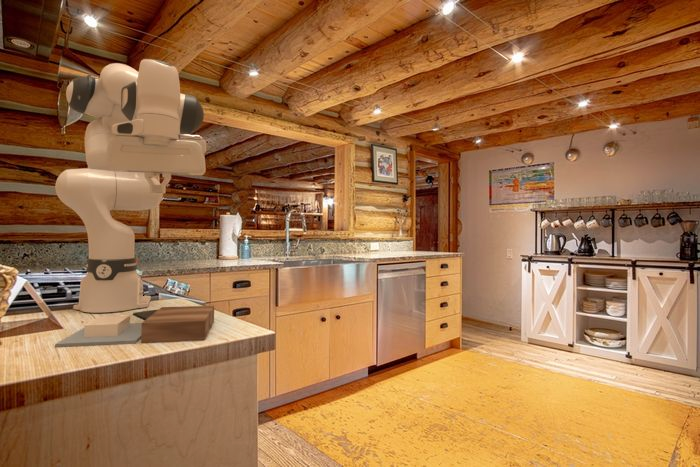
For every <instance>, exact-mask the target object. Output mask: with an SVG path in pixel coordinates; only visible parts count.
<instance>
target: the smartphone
mask: <svg viewBox="0 0 700 467" xmlns="http://www.w3.org/2000/svg"><path fill="white" fill-rule="evenodd" d="M158 310H159V309H152V310H143V311H137V312H133V313H132V316H135V317H136V318H139V319H140V320H143V321H145V320H146V319H147V318H149V317H150V316H151V315H152V314H154V313H155V312H156V311H158Z"/></svg>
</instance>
